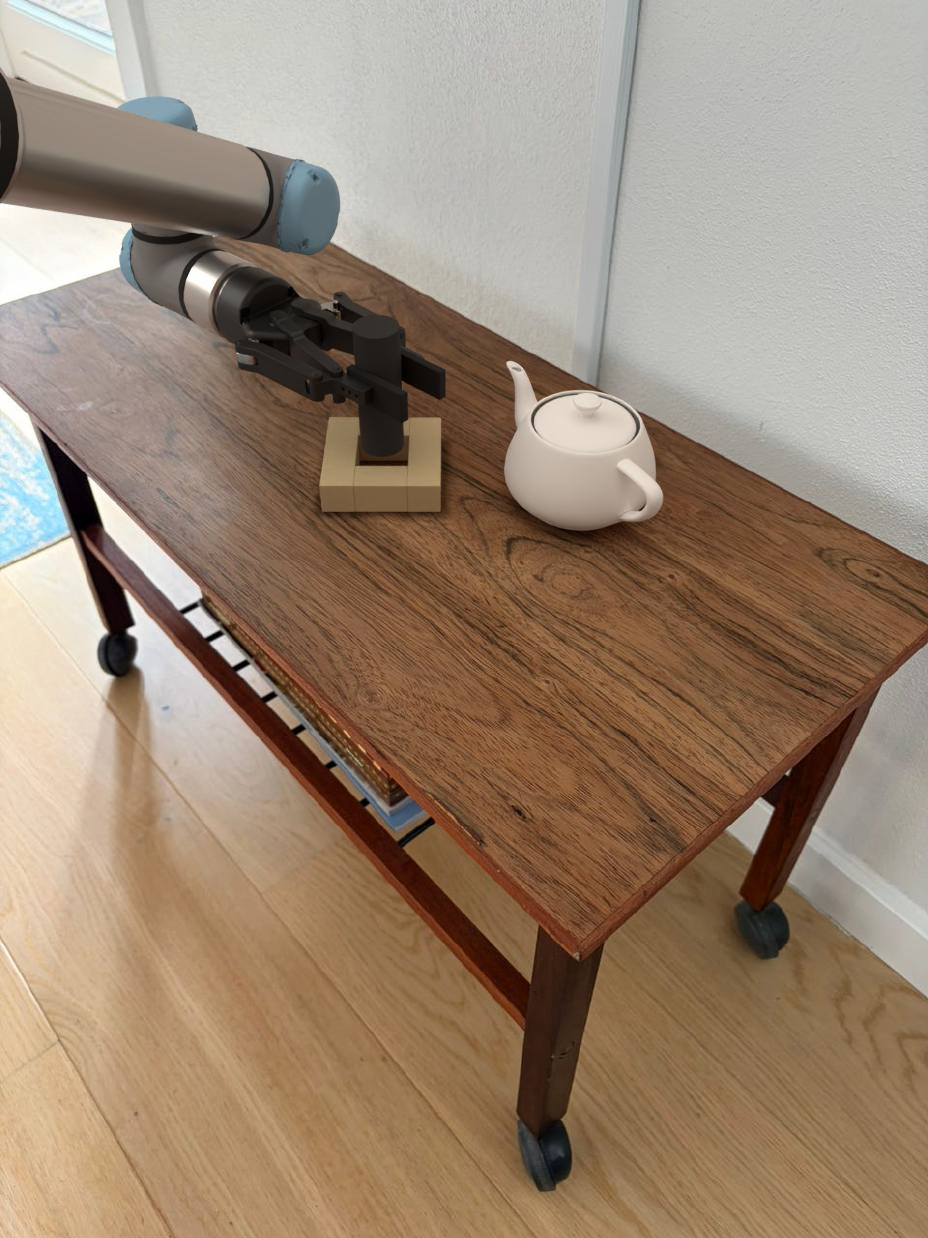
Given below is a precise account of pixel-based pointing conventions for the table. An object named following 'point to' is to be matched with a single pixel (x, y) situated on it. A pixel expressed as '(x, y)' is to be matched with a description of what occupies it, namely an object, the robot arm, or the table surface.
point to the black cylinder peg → (383, 359)
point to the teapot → (580, 458)
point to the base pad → (381, 470)
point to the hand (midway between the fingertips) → (423, 395)
